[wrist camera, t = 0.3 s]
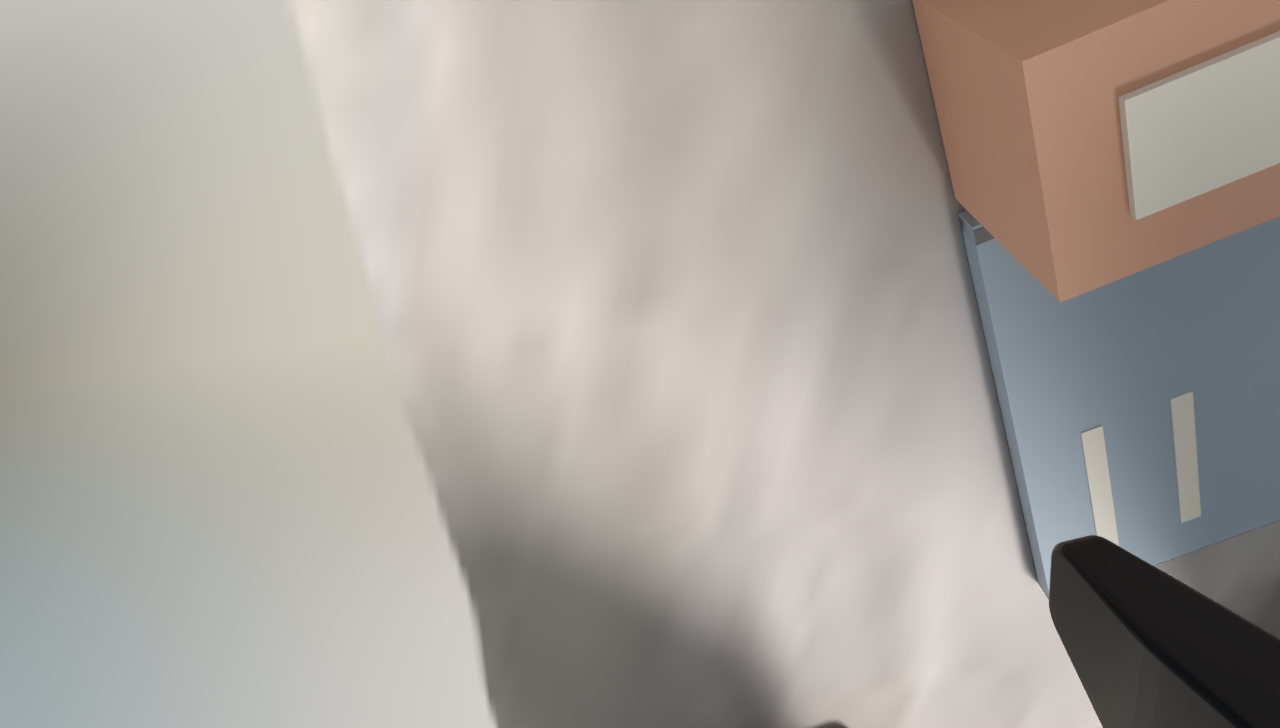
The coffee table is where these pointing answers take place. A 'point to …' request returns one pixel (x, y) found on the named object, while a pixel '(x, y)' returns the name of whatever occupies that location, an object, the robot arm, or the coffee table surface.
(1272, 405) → the blue book
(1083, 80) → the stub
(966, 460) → the coffee table surface
